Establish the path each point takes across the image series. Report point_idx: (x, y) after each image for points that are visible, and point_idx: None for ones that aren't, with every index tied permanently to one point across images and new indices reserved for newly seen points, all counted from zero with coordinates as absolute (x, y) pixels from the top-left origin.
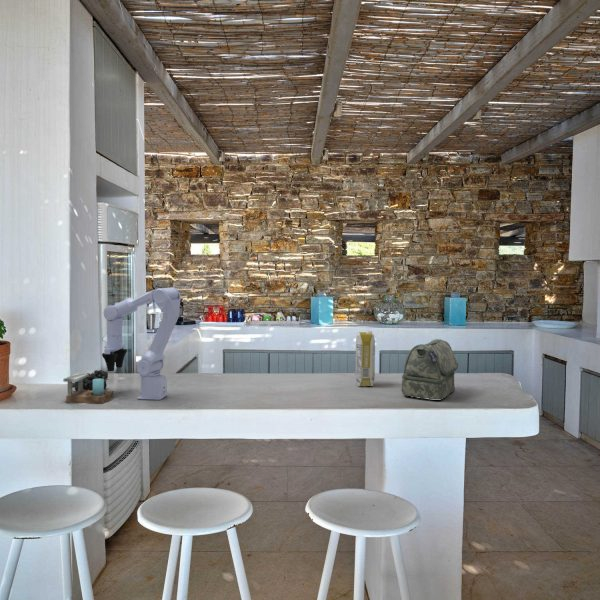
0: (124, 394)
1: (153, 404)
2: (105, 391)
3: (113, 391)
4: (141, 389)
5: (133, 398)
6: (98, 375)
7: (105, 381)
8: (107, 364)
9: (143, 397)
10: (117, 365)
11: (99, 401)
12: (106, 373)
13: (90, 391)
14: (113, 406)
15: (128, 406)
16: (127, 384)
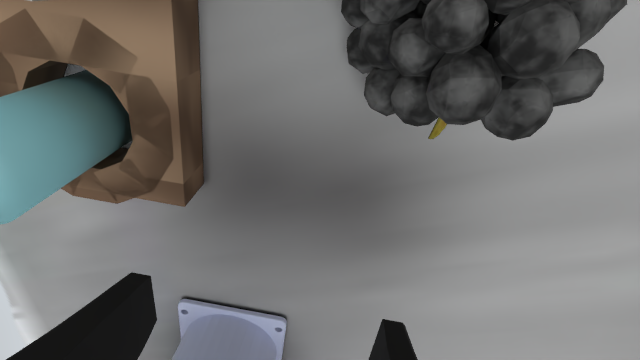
0: (288, 226)
1: None
2: (160, 154)
3: (181, 204)
4: (181, 354)
5: (200, 279)
6: (399, 41)
7: (379, 112)
8: (51, 348)
9: (189, 325)
10: (379, 354)
11: None
12: (491, 128)
13: (127, 27)
14: (21, 219)
15: (50, 278)
16: (630, 193)
